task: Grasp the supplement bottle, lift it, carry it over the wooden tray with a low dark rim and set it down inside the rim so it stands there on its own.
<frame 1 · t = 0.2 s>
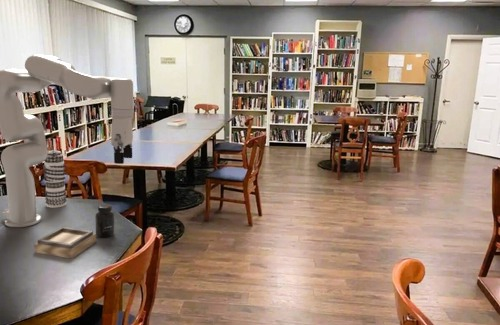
hand: (123, 160, 138), 30 cm above the table, fingers open, 9 cm apart
supplement bottle: (105, 235, 145), on the table
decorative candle: (56, 204, 174), on the table
wooden tray: (66, 246, 134), on the table
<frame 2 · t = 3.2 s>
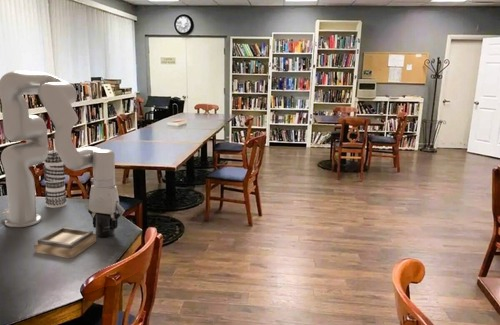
hand: (105, 227, 145), 3 cm above the table, fingers closed on supplement bottle, 6 cm apart
supplement bottle: (105, 235, 145), on the table, touching gripper
everything else where it was.
when the fingers open (7 cm above the table, at t = 9.7 s): supplement bottle stays where it is, resting on wooden tray.
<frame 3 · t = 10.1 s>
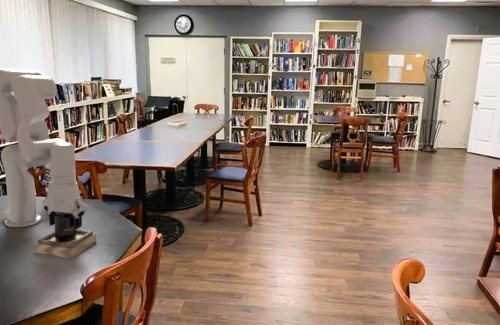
hand: (65, 226, 132), 8 cm above the table, fingers open, 9 cm apart
supplement bottle: (66, 239, 134), point 3 cm above the table, touching wooden tray
everything else where it was.
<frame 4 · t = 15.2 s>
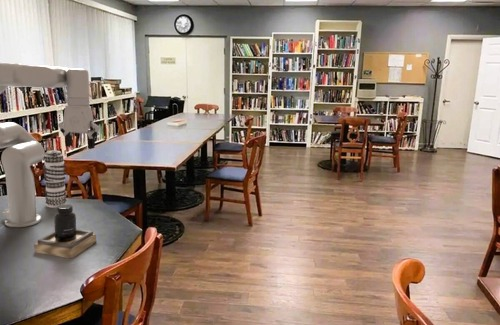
hand: (80, 147, 145), 32 cm above the table, fingers open, 9 cm apart
nothing on the table moved.
at the end: supplement bottle inside the target area on the wooden tray (0.2 cm from its centre), point 2.8 cm above the wooden tray's base; supplement bottle tilted 0°; the gripper is holding nothing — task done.
